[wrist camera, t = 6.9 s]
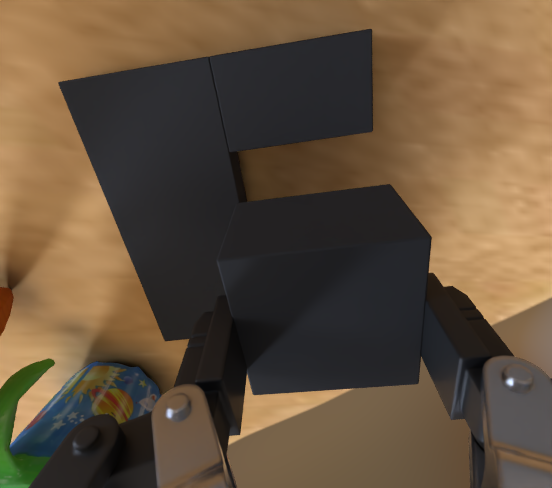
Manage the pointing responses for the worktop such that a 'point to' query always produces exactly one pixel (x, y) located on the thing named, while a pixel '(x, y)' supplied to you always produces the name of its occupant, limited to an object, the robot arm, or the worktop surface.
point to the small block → (327, 289)
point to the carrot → (5, 306)
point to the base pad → (207, 149)
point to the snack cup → (66, 412)
